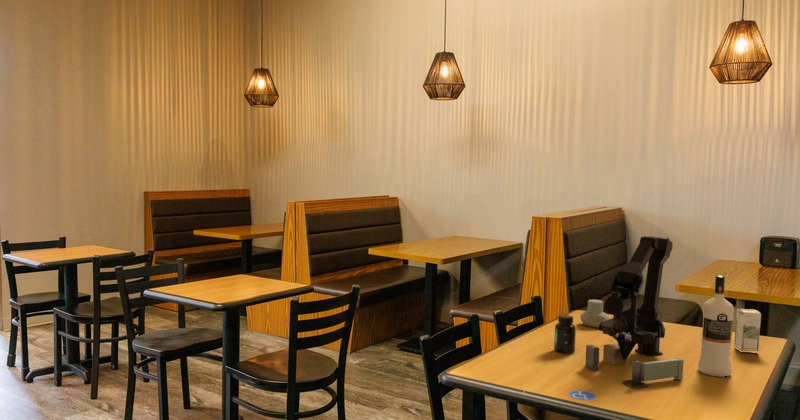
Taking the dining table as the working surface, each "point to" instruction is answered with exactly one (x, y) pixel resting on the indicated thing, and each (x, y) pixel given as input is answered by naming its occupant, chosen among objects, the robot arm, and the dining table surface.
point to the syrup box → (747, 329)
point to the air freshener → (594, 314)
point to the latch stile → (592, 357)
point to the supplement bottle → (564, 335)
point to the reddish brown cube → (613, 354)
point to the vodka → (716, 333)
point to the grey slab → (661, 369)
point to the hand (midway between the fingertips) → (624, 359)
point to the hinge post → (635, 377)
